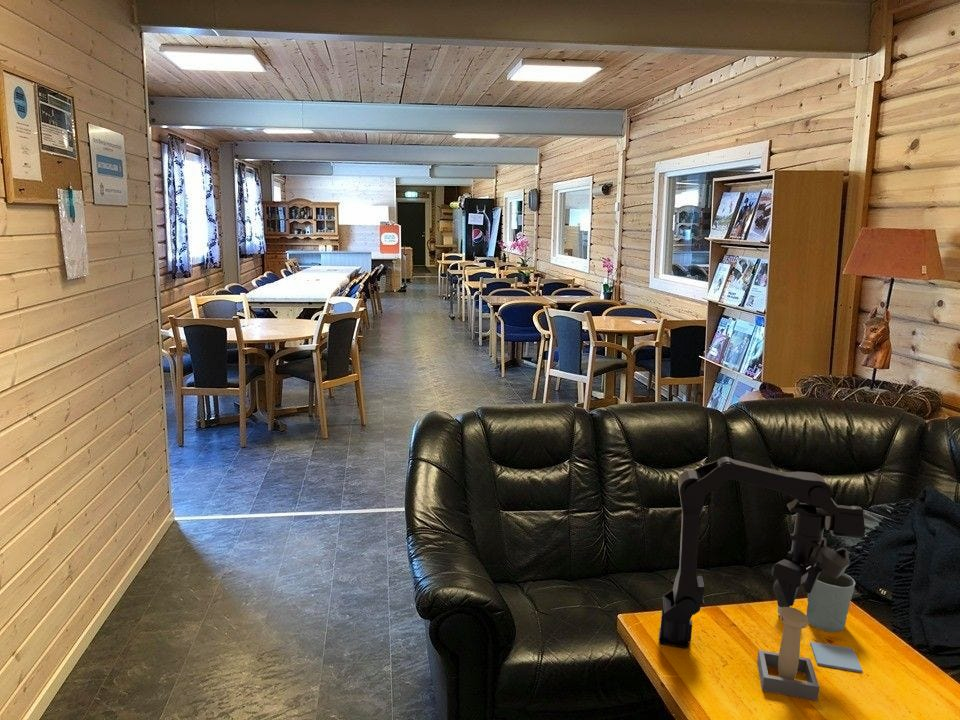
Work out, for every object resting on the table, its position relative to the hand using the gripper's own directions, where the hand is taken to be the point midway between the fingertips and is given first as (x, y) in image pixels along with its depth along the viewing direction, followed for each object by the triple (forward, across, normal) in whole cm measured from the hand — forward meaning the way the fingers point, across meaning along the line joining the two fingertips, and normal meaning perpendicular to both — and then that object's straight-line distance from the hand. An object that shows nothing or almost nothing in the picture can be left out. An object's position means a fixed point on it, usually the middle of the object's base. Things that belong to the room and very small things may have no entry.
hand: (799, 598), depth 159 cm
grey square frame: (+14, -10, -3) cm, 17 cm away
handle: (+14, -10, -3) cm, 18 cm away
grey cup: (+14, +21, +1) cm, 25 cm away
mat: (+14, +7, -7) cm, 17 cm away
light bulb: (+14, +16, +9) cm, 23 cm away
